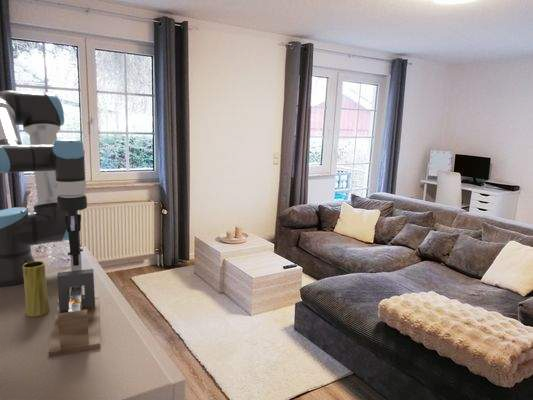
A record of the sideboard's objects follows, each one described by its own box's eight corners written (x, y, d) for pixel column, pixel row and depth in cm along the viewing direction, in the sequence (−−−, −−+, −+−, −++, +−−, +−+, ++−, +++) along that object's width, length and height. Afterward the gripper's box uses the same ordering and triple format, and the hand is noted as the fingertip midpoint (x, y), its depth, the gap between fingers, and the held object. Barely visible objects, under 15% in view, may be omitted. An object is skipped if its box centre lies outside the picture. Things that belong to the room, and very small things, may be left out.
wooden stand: (58, 306, 116) (55, 277, 114) (98, 300, 120) (97, 272, 118) (48, 357, 91) (45, 321, 90) (100, 347, 96) (98, 313, 94)
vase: (38, 318, 108) (34, 269, 106) (19, 315, 110) (14, 266, 107) (54, 308, 114) (51, 261, 112) (36, 305, 116) (32, 259, 113)
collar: (60, 306, 112) (57, 272, 110) (95, 301, 115) (93, 268, 113) (59, 310, 109) (56, 276, 107) (95, 305, 113) (93, 272, 111)
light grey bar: (72, 290, 115) (71, 281, 114) (83, 289, 116) (82, 280, 115) (67, 327, 95) (66, 316, 94) (80, 325, 96) (80, 314, 95)
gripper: (58, 191, 115) (64, 268, 120) (54, 200, 104) (61, 284, 108) (86, 190, 118) (91, 265, 123) (86, 198, 107) (91, 281, 111)
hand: (77, 274), depth 116 cm, fingers closed
